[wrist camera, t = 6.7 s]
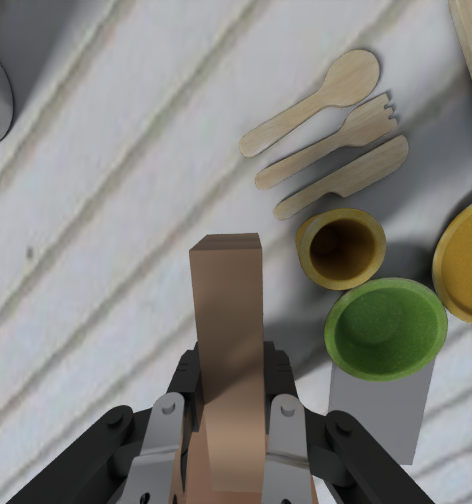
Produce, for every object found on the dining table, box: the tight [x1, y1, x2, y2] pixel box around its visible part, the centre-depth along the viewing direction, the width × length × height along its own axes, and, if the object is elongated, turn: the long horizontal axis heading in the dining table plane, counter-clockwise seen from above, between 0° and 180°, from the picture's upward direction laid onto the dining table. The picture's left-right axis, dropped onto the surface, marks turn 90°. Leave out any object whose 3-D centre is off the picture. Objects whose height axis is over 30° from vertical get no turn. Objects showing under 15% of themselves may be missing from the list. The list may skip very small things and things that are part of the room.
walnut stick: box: [189, 233, 265, 493], centre depth 13 cm, size 14×3×4 cm, turn 2°
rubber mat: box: [328, 356, 436, 465], centre depth 25 cm, size 18×10×1 cm, turn 2°
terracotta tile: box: [186, 410, 319, 504], centre depth 20 cm, size 3×10×12 cm, turn 92°
